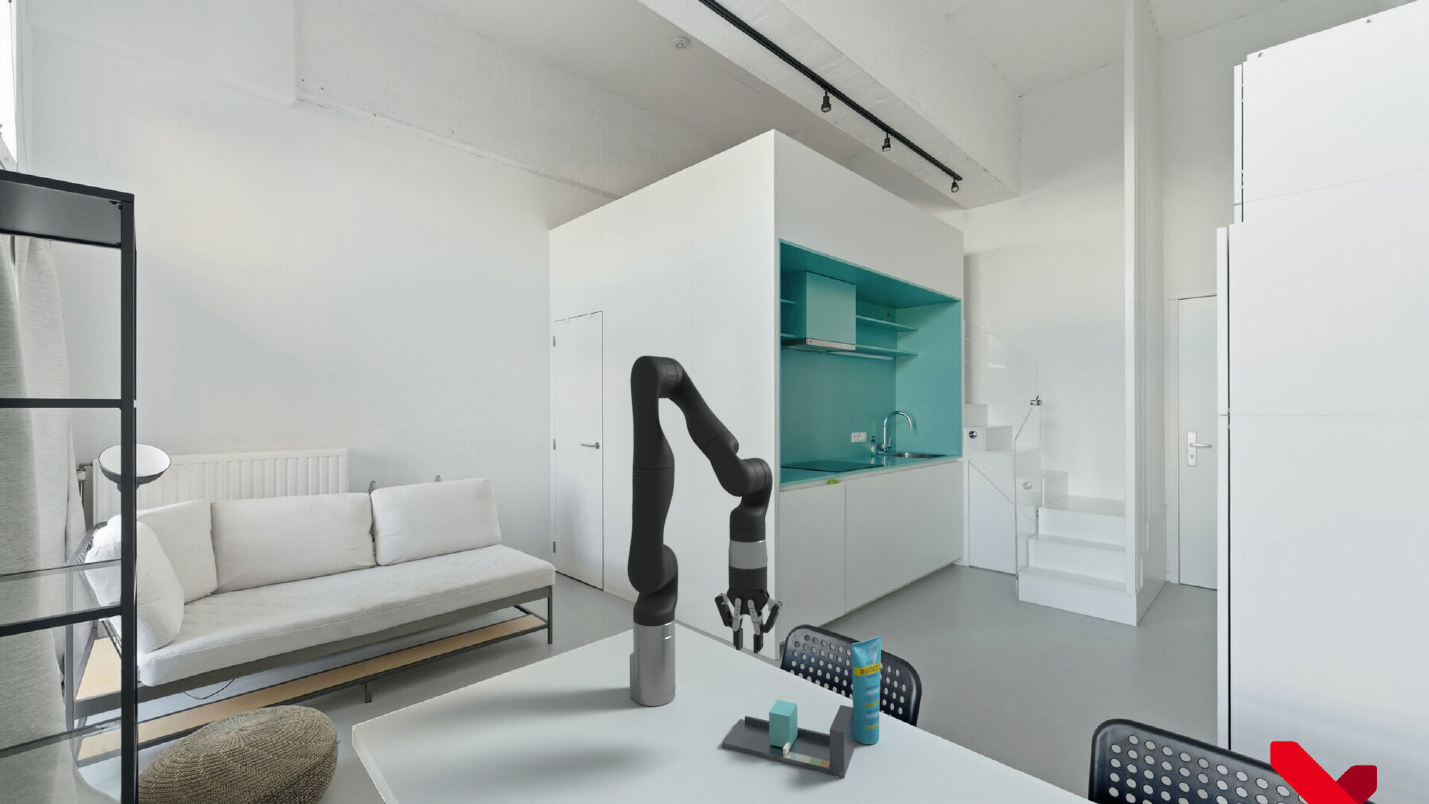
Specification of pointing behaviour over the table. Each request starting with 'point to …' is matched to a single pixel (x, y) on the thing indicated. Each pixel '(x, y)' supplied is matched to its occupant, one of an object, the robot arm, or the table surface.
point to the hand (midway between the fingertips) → (748, 650)
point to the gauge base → (799, 744)
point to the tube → (866, 689)
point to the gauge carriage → (783, 724)
